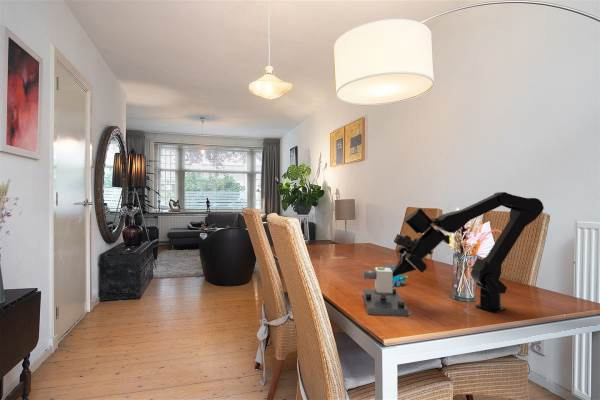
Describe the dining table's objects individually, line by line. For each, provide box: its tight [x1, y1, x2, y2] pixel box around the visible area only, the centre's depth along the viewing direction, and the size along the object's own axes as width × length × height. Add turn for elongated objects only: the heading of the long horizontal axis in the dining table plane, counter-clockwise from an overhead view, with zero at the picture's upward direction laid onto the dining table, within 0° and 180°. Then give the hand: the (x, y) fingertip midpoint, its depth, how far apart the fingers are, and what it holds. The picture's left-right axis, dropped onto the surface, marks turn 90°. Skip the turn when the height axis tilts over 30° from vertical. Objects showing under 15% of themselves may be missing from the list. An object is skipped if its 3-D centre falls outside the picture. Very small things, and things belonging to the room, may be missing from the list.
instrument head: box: [363, 266, 393, 296], centre depth 107 cm, size 10×6×9 cm, turn 83°
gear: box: [385, 264, 409, 288], centre depth 132 cm, size 11×6×10 cm
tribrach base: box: [362, 288, 409, 317], centre depth 106 cm, size 12×20×3 cm, turn 173°
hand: (392, 275), depth 106 cm, fingers closed
